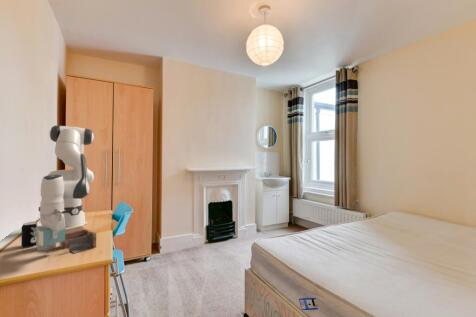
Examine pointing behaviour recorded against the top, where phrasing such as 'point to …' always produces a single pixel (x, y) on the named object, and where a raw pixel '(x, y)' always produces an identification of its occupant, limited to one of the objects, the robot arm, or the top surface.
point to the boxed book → (50, 237)
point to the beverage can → (28, 234)
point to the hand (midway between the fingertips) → (52, 237)
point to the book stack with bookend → (78, 239)
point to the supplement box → (38, 227)
